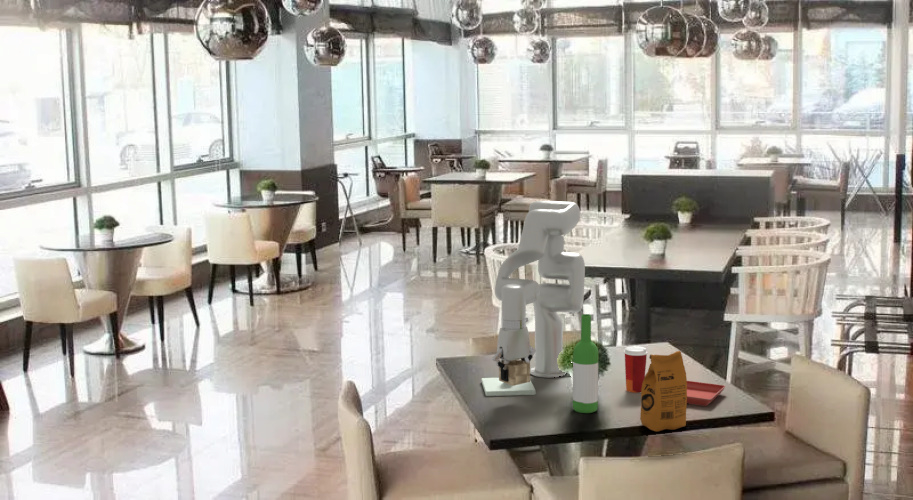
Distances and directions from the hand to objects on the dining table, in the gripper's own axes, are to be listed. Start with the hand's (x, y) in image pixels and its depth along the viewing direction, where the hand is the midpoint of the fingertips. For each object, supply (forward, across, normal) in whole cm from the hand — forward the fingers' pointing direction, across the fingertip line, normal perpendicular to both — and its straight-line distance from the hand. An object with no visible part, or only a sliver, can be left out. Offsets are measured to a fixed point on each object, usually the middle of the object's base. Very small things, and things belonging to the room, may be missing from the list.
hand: (514, 377), depth 353 cm
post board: (+8, -7, -13) cm, 17 cm away
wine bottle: (+8, -12, +20) cm, 25 cm away
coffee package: (+8, -21, +45) cm, 50 cm away
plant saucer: (+9, -49, +28) cm, 57 cm away
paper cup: (+9, -40, +12) cm, 42 cm away
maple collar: (+1, 0, 0) cm, 1 cm away
